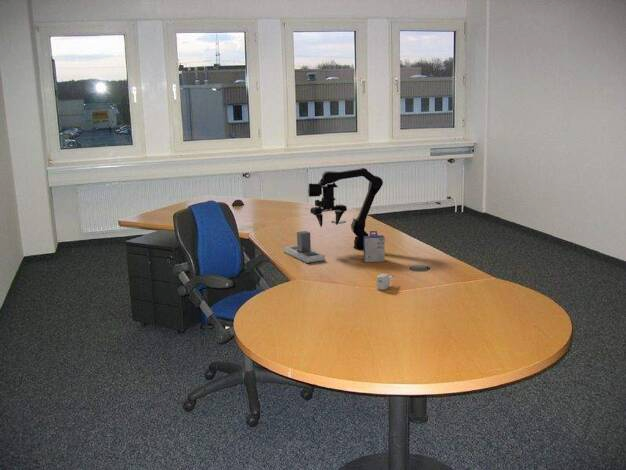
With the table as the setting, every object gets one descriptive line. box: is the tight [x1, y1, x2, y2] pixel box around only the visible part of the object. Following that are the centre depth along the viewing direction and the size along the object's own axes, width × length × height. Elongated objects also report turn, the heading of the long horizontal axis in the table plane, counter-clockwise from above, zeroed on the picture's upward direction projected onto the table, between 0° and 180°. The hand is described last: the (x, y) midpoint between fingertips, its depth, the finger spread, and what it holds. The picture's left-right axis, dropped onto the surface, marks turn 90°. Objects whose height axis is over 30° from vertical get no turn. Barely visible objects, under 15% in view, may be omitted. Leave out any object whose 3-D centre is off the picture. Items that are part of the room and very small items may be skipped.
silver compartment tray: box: [283, 245, 326, 265], centre depth 308 cm, size 26×10×3 cm, turn 27°
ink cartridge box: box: [363, 230, 386, 263], centre depth 296 cm, size 10×6×14 cm, turn 95°
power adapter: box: [375, 272, 395, 291], centre depth 255 cm, size 11×5×6 cm, turn 150°
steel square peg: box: [296, 230, 312, 253], centre depth 307 cm, size 5×5×12 cm
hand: (328, 225), depth 318 cm, fingers open, 9 cm apart
